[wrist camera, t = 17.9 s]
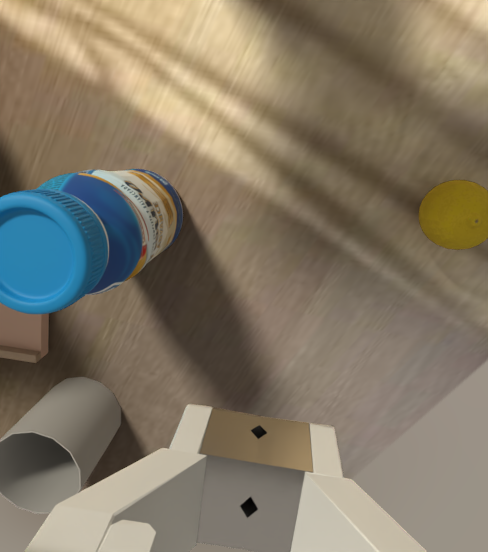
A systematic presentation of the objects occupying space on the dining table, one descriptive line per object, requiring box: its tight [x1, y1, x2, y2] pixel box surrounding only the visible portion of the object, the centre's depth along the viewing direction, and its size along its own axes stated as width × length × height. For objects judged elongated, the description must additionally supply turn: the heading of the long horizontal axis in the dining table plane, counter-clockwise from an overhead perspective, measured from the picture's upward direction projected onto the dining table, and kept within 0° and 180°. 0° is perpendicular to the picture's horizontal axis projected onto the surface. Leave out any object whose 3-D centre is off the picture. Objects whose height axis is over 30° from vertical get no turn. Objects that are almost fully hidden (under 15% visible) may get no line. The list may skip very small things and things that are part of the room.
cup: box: [0, 377, 121, 514], centre depth 45 cm, size 8×8×10 cm
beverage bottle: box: [0, 169, 183, 314], centre depth 34 cm, size 8×8×20 cm
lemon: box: [419, 180, 488, 250], centre depth 37 cm, size 6×6×8 cm
